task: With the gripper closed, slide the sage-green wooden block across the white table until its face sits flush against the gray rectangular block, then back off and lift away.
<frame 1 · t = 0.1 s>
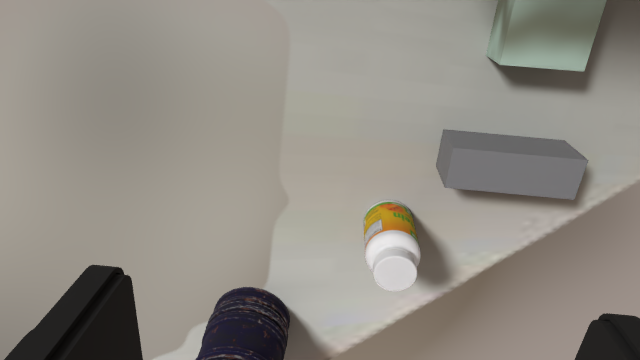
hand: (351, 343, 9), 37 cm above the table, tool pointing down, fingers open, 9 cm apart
supplement bottle: (387, 219, 50), on the table
storage jar: (252, 316, 58), on the table
sage block: (533, 18, 41), on the table
gray rectangular block: (498, 153, 46), on the table
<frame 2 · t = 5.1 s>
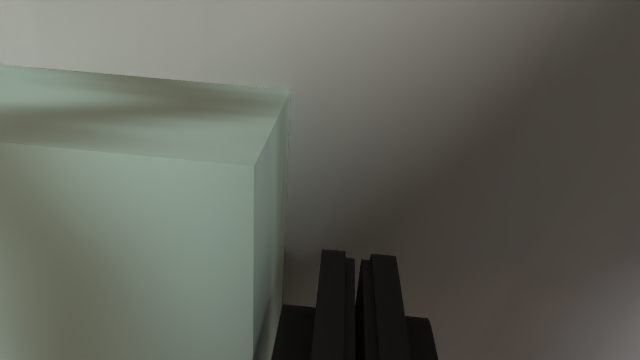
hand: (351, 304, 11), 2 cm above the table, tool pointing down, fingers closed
sage block: (160, 202, 13), on the table, touching gripper
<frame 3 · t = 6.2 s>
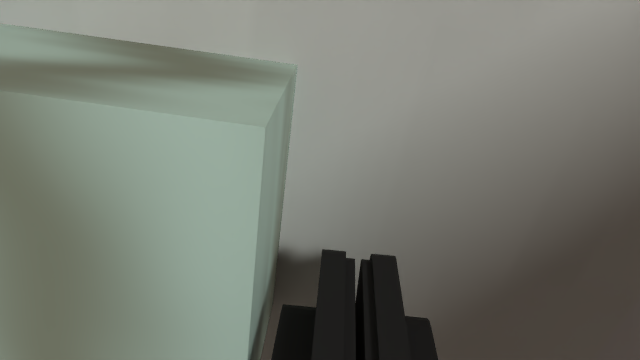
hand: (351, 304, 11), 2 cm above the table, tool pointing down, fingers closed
sage block: (151, 179, 12), on the table, touching gray rectangular block, gripper
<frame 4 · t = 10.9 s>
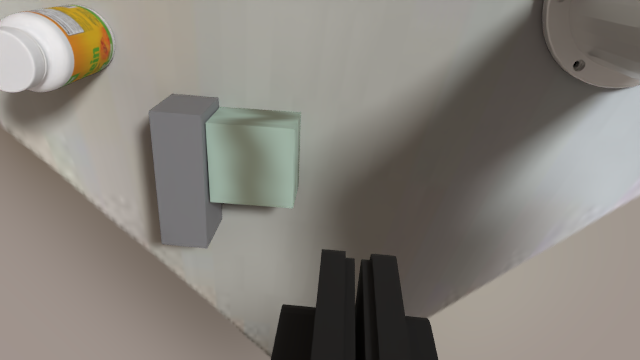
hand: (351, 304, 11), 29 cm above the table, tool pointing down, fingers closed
supplement bottle: (85, 38, 38), on the table
sage block: (260, 146, 41), on the table
gray rectangular block: (198, 160, 41), on the table
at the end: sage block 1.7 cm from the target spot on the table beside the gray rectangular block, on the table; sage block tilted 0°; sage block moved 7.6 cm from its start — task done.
